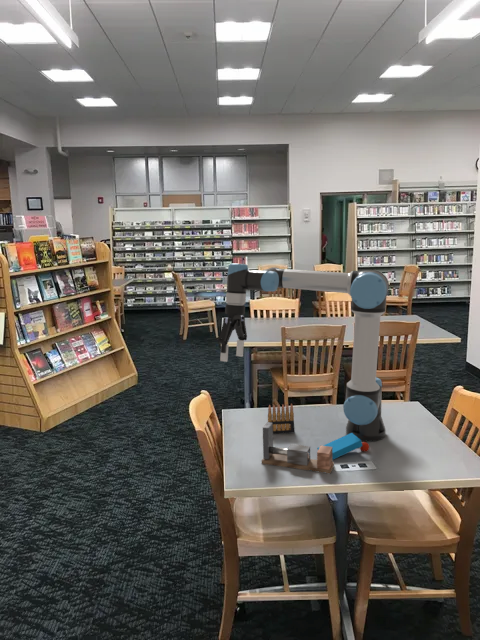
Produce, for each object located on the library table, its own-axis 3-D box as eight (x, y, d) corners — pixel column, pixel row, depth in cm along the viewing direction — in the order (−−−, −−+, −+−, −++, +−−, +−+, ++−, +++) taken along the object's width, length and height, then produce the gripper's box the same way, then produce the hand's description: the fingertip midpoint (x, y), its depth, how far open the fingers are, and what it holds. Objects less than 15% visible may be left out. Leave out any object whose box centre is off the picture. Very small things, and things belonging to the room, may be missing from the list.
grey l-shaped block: (263, 458, 171) (262, 427, 169) (267, 452, 175) (267, 422, 173) (307, 465, 165) (306, 432, 163) (310, 458, 169) (310, 427, 167)
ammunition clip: (293, 431, 198) (293, 402, 196) (294, 432, 196) (294, 404, 194) (267, 432, 197) (266, 403, 195) (268, 434, 195) (267, 405, 193)
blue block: (330, 473, 172) (374, 452, 176) (325, 456, 170) (370, 435, 174) (322, 464, 178) (364, 445, 182) (317, 448, 177) (360, 428, 180)
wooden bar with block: (261, 463, 171) (261, 445, 169) (267, 456, 176) (266, 438, 175) (330, 473, 162) (330, 454, 161) (333, 465, 167) (333, 446, 166)
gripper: (240, 301, 200) (237, 353, 202) (211, 304, 178) (207, 362, 180) (257, 303, 197) (253, 355, 199) (229, 306, 175) (225, 365, 177)
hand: (231, 358), depth 190 cm, fingers open, 13 cm apart
